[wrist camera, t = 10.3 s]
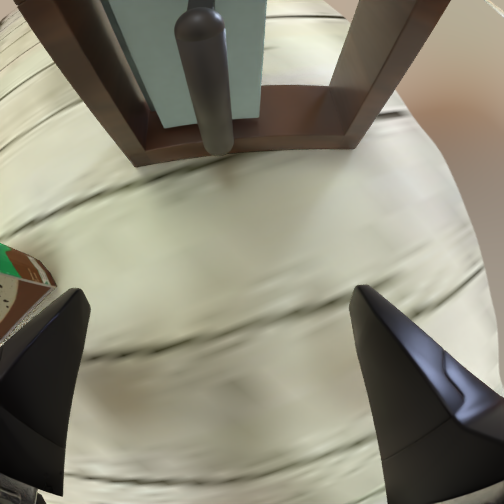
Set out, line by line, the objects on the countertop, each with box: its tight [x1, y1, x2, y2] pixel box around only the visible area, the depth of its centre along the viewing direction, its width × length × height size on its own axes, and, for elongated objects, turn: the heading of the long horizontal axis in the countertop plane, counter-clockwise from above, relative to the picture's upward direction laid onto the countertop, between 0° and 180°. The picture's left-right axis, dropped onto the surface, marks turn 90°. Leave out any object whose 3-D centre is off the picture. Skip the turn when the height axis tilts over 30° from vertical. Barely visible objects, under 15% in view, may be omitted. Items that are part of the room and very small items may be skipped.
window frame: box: [14, 0, 451, 167], centre depth 10 cm, size 15×4×15 cm, turn 96°
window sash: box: [108, 0, 267, 156], centre depth 9 cm, size 6×4×11 cm
